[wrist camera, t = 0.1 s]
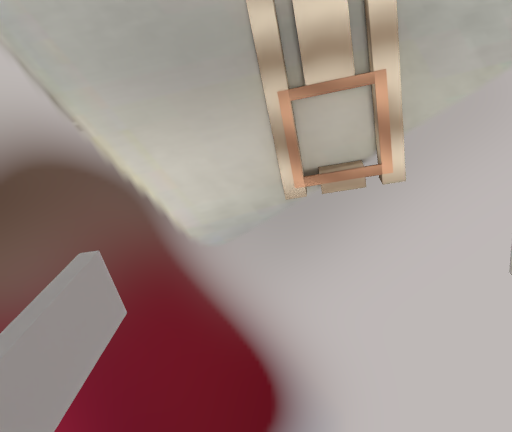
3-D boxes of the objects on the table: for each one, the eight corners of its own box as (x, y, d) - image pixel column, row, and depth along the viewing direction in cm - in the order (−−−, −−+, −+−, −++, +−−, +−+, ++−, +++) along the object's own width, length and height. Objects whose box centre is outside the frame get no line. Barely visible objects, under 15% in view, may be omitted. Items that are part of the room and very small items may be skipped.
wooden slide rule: (222, -134, 30) (216, -146, 28) (380, -187, 27) (386, -204, 25) (286, 192, 41) (285, 200, 39) (401, 173, 39) (406, 182, 37)
